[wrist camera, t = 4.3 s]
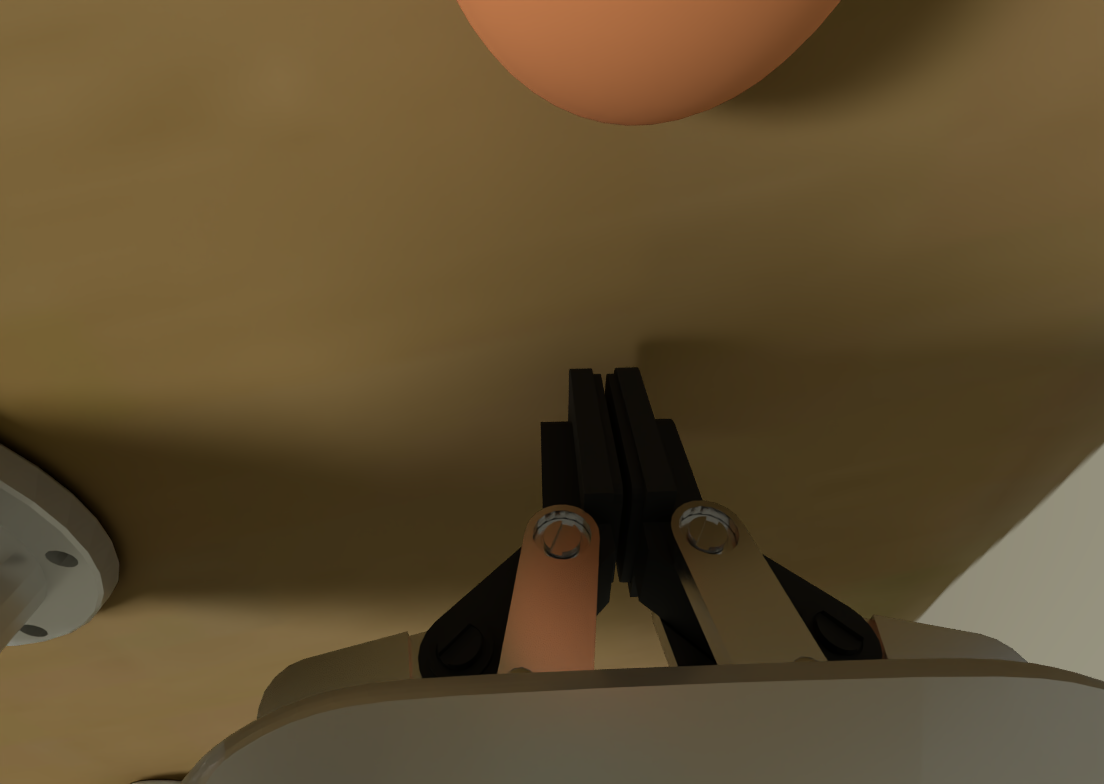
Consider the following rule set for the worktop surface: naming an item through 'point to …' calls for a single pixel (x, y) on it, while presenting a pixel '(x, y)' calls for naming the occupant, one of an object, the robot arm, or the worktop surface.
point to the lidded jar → (158, 782)
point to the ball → (642, 50)
